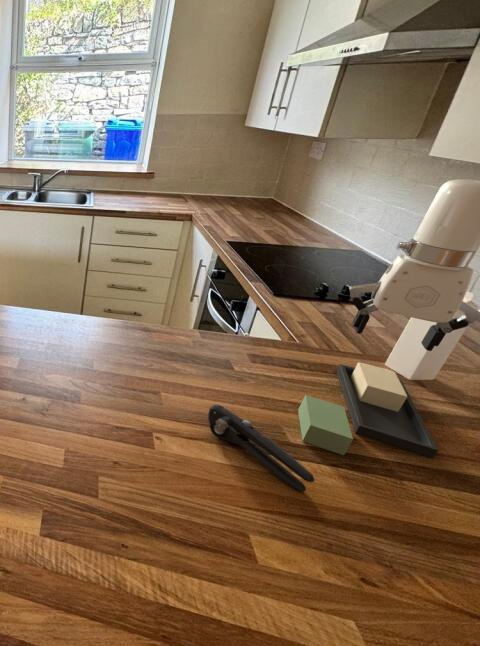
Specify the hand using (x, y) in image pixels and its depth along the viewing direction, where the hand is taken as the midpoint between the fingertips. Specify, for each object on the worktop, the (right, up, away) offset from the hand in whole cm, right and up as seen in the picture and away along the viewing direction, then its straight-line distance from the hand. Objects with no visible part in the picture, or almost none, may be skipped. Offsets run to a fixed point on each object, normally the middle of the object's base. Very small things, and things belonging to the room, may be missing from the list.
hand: (390, 338), depth 76 cm
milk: (+24, -10, +18) cm, 32 cm away
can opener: (-30, -20, -4) cm, 36 cm away
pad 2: (+7, -13, +10) cm, 18 cm away
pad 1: (-13, -18, +1) cm, 22 cm away
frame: (+5, -15, +7) cm, 17 cm away
